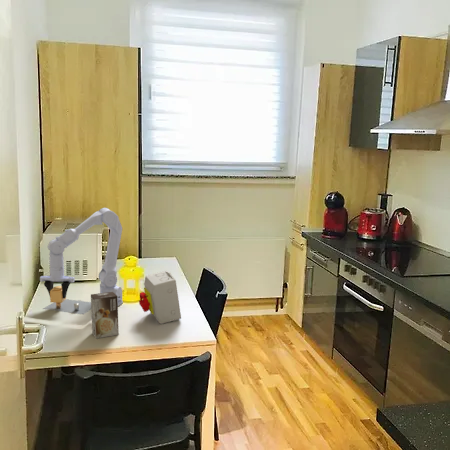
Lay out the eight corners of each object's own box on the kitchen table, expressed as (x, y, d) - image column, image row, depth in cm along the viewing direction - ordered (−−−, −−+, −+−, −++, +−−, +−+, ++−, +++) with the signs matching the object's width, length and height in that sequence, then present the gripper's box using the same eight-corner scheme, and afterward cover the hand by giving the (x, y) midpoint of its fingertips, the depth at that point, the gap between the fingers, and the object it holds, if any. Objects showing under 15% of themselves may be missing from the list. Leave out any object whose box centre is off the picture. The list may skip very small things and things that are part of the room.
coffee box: (114, 329, 199) (113, 290, 196) (119, 334, 194) (118, 295, 190) (91, 332, 195) (90, 294, 192) (95, 339, 189) (94, 299, 186)
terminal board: (100, 306, 223) (100, 303, 223) (83, 317, 210) (83, 314, 210) (61, 301, 228) (61, 298, 228) (42, 312, 215) (42, 308, 215)
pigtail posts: (80, 309, 215) (79, 303, 214) (77, 311, 213) (77, 304, 212) (57, 307, 217) (57, 300, 217) (55, 308, 216) (54, 302, 215)
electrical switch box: (139, 318, 216) (131, 275, 211) (171, 309, 221) (165, 267, 217) (147, 331, 203) (139, 286, 198) (181, 321, 208) (175, 277, 203)
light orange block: (66, 298, 218) (65, 285, 217) (61, 302, 213) (61, 289, 212) (54, 298, 218) (54, 285, 217) (50, 302, 213) (49, 289, 212)
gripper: (76, 265, 216) (77, 295, 219) (44, 264, 217) (45, 293, 219) (71, 269, 209) (72, 300, 212) (37, 268, 210) (38, 299, 213)
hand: (58, 297), depth 215 cm, fingers closed on light orange block, 5 cm apart
